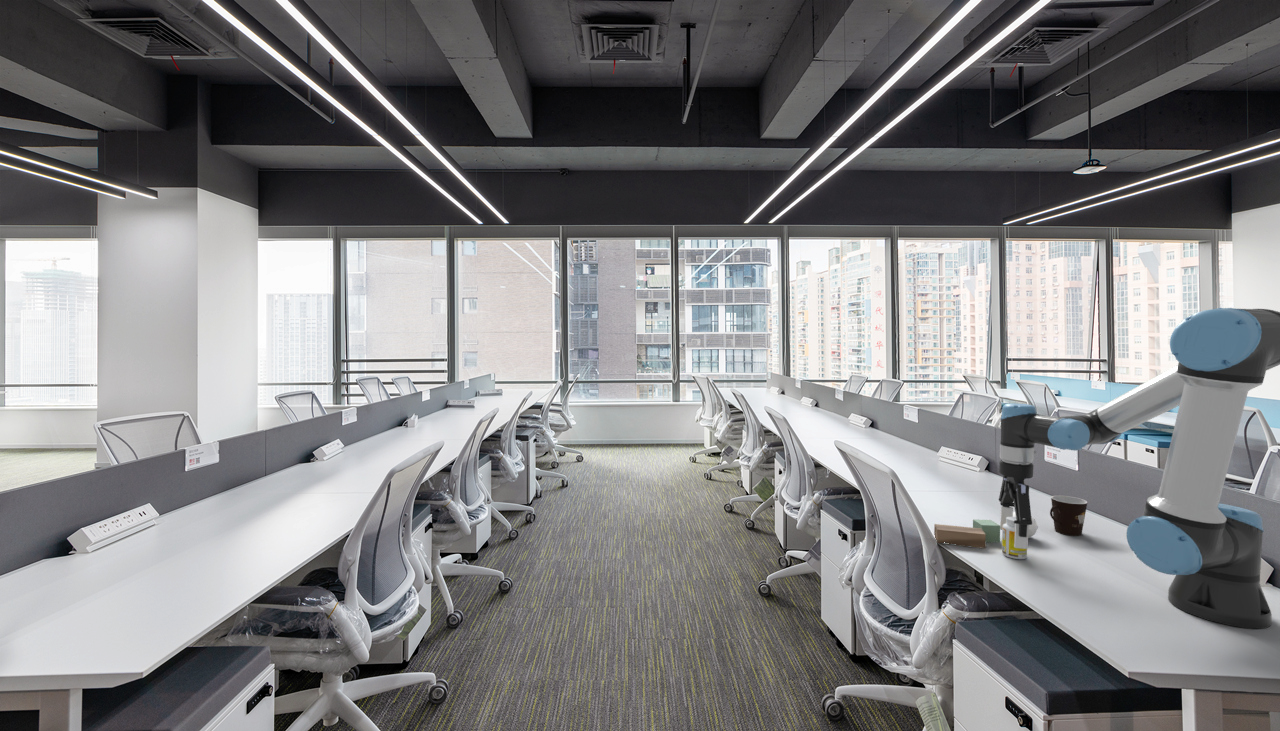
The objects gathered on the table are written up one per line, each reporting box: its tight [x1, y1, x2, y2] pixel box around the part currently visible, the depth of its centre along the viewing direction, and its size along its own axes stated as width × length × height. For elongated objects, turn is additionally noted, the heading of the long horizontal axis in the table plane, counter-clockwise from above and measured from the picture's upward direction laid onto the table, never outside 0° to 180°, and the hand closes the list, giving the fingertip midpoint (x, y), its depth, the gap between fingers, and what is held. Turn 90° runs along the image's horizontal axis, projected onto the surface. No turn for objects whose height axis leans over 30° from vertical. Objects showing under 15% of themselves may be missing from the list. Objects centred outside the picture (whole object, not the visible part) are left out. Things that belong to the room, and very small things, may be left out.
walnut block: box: [933, 523, 986, 549], centre depth 156 cm, size 5×12×4 cm, turn 69°
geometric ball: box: [1013, 511, 1039, 539], centre depth 160 cm, size 8×8×8 cm
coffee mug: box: [1049, 495, 1088, 537], centre depth 163 cm, size 12×9×10 cm
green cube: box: [972, 519, 1001, 543], centre depth 159 cm, size 5×5×5 cm
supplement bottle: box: [1001, 517, 1028, 560], centre depth 146 cm, size 6×6×10 cm
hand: (1013, 538), depth 146 cm, fingers open, 13 cm apart
